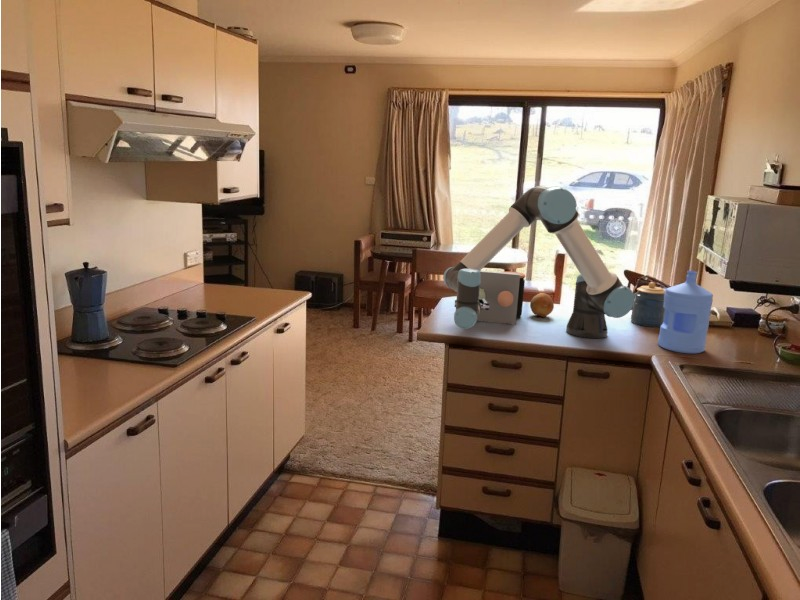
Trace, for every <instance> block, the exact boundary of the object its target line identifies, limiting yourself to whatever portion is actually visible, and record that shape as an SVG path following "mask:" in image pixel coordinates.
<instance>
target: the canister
mask: <svg viewBox="0 0 800 600" xmlns="http://www.w3.org/2000/svg"><path fill="white" fill-rule="evenodd" d="M636 290H637V292H635V293H634V292H633V294H634V303H633V307H632V309H631V314H630V322H631V323H632V324H634V325H638V326H642V327H647V328H648V327H650V328H659V327H660V326H661V325H662V324H663V322H664V315H665V308H664V307H663V305H664V295H665V292H666V290H664V289H663V287H660V286H659V287H658V286H656V282H653V281H650V282H649V283H648V285H641V286H639V287H637V288H636Z"/></svg>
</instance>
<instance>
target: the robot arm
mask: <svg viewBox="0 0 800 600" xmlns="http://www.w3.org/2000/svg"><path fill="white" fill-rule="evenodd" d="M577 205H578V204H577V200H576V197H575V196H574V194H573V193H572V192H571V191H569V190H568V189H565V188H563V187H561V186H546V185H537V186H534V187H531V188H529V189H528V190H527V191H525V192H524V193H523V194H522V195H521V196H519V198H518V199H516V201H515V202H513V204H511V205H510V207H509V208H508V212H507V214H505V216H504V217H502V219H501V220H500V221H499V222H497V224H496V225H495V226H494V227H492V229H491V230H490V231H489V232H488V233H487V234H486V235H485V236H484V237H483V238H482V239H480V241H478V243H477V244H475V246H474V247H473V248H472V249H471V250H469V252H468V253H466V255H465V256H464V257H463V258H462V259H461V260H460V261H459V262H458V263H456V265H454V266H451V267H448V268H447V269H446V270H445V271H444V273H443V275H442V279H443V282H444V284H445V285H446V286H447V287H448V288H449V289H450V290H452V291H454V292H456V300H454V308H455V312H454V314H453V322H454V324H455V325H456V326H457V327H458V328H460V329H463V330H467V329H468V330H469V329H470V328H473V326H474V325H476V323H477V322H478V321H477V318H478V316H479V314H480V311H481V310H482V309H485V310H489V303H488V302H487V301H486V300H485V299H484V298H481V299H480V297H479V291H480V283H481V280H480V270H481V271H482V269H484V268H485V267H486V266H487V265H488V264H489V263H490V262H491V261H492V259H493V258H495V256H497V255H498V254H499V253H500V252H501V251H502V250H503V249H504V248H505V247H506V246H507V245H508V244H509V243H510V242H511V241H512V240H513V239H514V238H515V237H516V236H517V235H518V234H519V233H520V232H521V231H522V230H523V229H524V228H529V227H530V226H531V225H532V224H533V223H534V222H537V221H538V220H539V221H540V222H541V223H542V225H543V226H544V228H545V230H546V231H547V233H549V234H552V235H553V234H554V235H555V236H556V238H557V240H558V241H559V242H560V245H561V246H562V248H563V249H564V250H565V252H566V254H567V255H568V257H569V259H570V260H571V261H572V263H573V265H574V266H575V267H576V269H577V271H578V272H579V273H580V274H578V275H577V277H576V280H575V287H574V288H575V290H574V298H573V308H572V309H573V310H572V312H571V315H570V318H569V319H568V321H567V324H566V328H565V332H567V333H568V334H570V335H573V336H575V337H581V338H588V339H602V338H606V337H608V326H607V320H606V316H607V317H610V318H614V319H618V318H622V317H625V316H626V315H627V314H628V313H630V311H632V309H633V303H634V300H635V296H634V292H633V290H632V289H631V288H630V287H628V286H627V285H624V284H623V283H622V281H621V280H620V277H618V275H617V274H616V273H614V272H610V271H609V269H608V268H607V266H606V265H605V263H604V261H603V260H602V257H600V255H599V253H598V252H597V250H596V248H595V247H594V245H593V244H592V242H591V240H590V239H589V237H588V235H587V234H586V232H585V231H584V229H583V228H582V225H580V223H579V221H578V218H579V212H578V210H577V207H578V206H577ZM605 315H606V316H605Z"/></svg>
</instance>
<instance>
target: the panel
mask: <svg viewBox="0 0 800 600" xmlns="http://www.w3.org/2000/svg"><path fill="white" fill-rule="evenodd" d="M505 272H506V271H491V270H482V269H481V270H480V280H481V283H480V288H481V289H482V290H483V291H484V292H485V300H486V301H487V302H488V303H489V310H485V309H482V310H481V311H480V314H479V316H478V318H477V320H478V321H477V322H486V321H487V322H488V323H498V324H506V323H508V325H516V324H515V323H516V322H517V318H516V314H517V303H518V292H519V281H520V274H517V273H505ZM502 291H509V292H511V293H512V295H513V303H512V304H511V305H510V306H508V307H503V306H501V305H500V304H499V303H498V295H499V294H500V293H501V292H502Z"/></svg>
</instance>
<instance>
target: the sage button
mask: <svg viewBox="0 0 800 600" xmlns="http://www.w3.org/2000/svg"><path fill="white" fill-rule="evenodd" d="M479 297H480V299H481V298H484V299H485V292H484V291H483V290H482V289H481V288H480V291H479Z"/></svg>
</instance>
